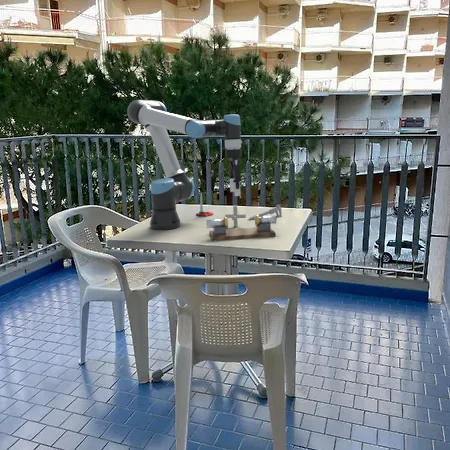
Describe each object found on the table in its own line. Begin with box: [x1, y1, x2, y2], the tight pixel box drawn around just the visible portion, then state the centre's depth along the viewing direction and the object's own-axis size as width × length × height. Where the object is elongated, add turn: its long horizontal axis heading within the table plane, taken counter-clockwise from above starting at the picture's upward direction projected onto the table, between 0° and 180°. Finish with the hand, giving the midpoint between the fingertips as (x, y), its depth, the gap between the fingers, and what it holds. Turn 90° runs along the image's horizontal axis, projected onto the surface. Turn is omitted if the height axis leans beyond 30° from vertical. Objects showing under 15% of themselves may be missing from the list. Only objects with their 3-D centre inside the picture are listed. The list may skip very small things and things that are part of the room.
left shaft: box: [206, 216, 229, 235], centre depth 187 cm, size 9×6×7 cm, turn 98°
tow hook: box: [195, 192, 214, 217], centre depth 234 cm, size 8×13×9 cm
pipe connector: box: [224, 205, 247, 228], centre depth 205 cm, size 10×10×10 cm
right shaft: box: [254, 214, 277, 232], centre depth 190 cm, size 9×6×7 cm, turn 98°
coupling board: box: [208, 226, 277, 242], centre depth 190 cm, size 28×12×2 cm, turn 98°
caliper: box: [247, 204, 282, 221], centre depth 222 cm, size 20×1×6 cm, turn 117°
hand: (235, 193), depth 202 cm, fingers open, 13 cm apart
